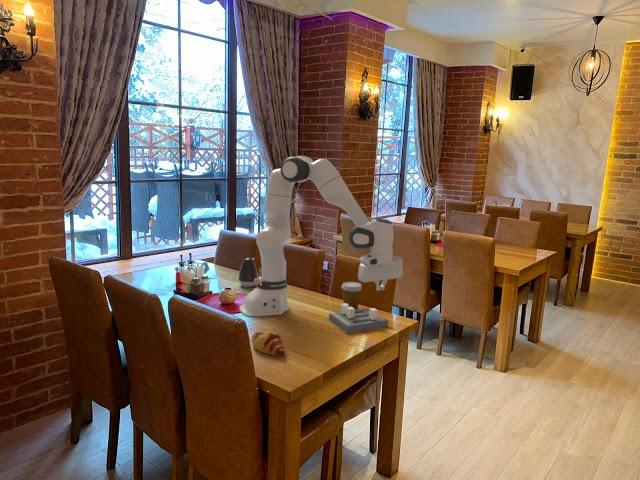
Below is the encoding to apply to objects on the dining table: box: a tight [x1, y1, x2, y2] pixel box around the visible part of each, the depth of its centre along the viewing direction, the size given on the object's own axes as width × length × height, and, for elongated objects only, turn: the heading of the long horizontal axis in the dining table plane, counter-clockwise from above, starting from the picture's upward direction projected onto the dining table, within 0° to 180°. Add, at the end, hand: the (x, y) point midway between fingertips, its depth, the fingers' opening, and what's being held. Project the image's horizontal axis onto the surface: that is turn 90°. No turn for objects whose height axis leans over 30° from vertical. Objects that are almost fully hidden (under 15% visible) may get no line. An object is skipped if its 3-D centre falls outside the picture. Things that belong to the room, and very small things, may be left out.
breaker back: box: [340, 302, 349, 315], centre depth 206 cm, size 2×3×4 cm
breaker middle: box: [346, 307, 355, 319], centre depth 202 cm, size 2×3×4 cm
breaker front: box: [369, 307, 379, 320], centre depth 201 cm, size 2×3×4 cm
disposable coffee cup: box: [341, 281, 363, 310], centre depth 221 cm, size 10×10×12 cm
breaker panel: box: [328, 307, 389, 334], centre depth 204 cm, size 20×16×3 cm
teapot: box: [174, 259, 210, 274], centre depth 261 cm, size 15×15×11 cm
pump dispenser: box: [238, 257, 259, 288], centre depth 252 cm, size 10×10×15 cm
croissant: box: [251, 331, 286, 357], centre depth 176 cm, size 21×10×8 cm, turn 38°
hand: (380, 289), depth 199 cm, fingers closed
